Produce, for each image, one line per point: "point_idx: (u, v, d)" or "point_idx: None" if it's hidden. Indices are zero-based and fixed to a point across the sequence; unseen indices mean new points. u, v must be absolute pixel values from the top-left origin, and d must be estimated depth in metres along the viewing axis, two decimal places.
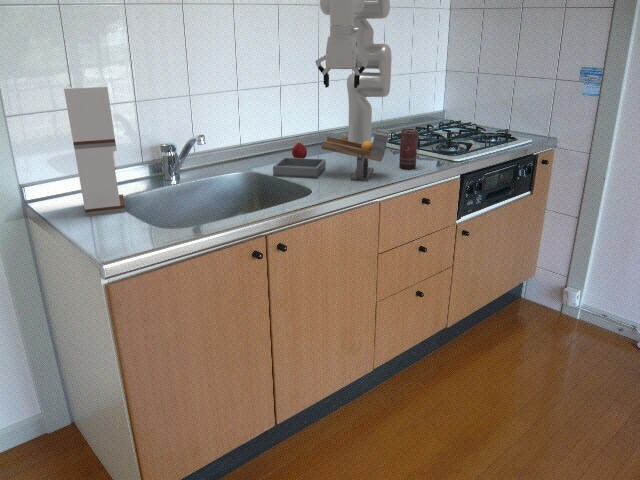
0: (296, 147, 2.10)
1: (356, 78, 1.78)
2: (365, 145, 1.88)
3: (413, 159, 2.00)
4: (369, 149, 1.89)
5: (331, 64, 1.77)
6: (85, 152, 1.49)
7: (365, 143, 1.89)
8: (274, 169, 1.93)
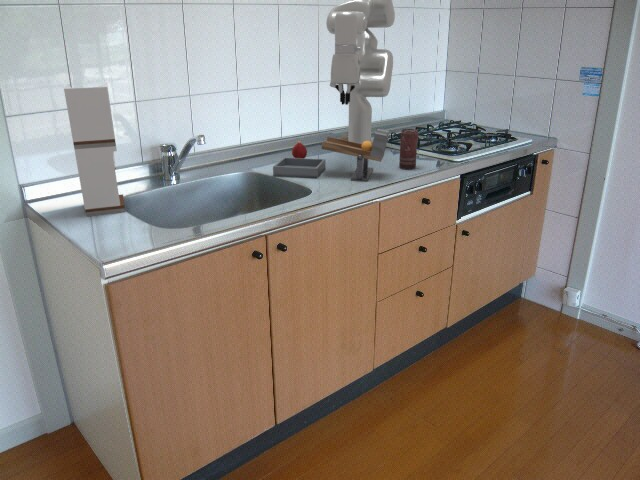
0: (296, 147, 2.10)
1: (347, 96, 1.95)
2: (365, 145, 1.88)
3: (413, 159, 2.00)
4: (369, 149, 1.89)
5: (336, 79, 1.93)
6: (85, 152, 1.49)
7: (365, 143, 1.89)
8: (274, 169, 1.93)
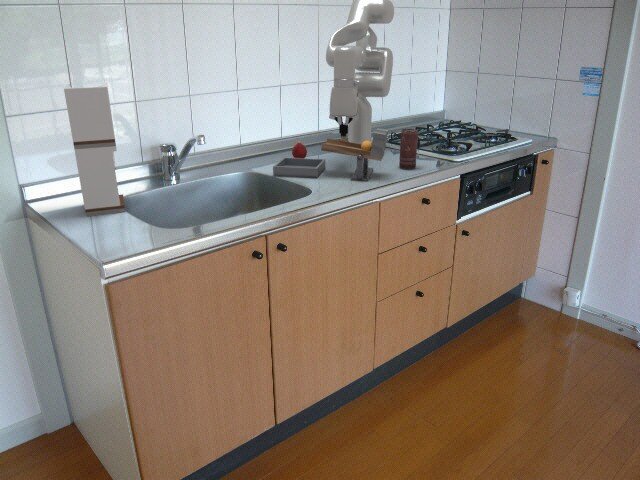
0: (296, 147, 2.10)
1: (345, 127, 1.99)
2: (365, 145, 1.88)
3: (413, 159, 2.00)
4: (369, 149, 1.89)
5: (334, 112, 1.97)
6: (85, 152, 1.49)
7: (365, 143, 1.89)
8: (274, 169, 1.93)
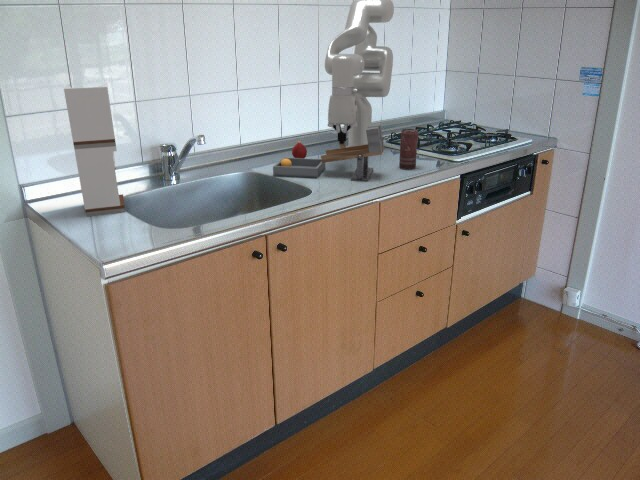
0: (296, 147, 2.10)
1: (343, 135, 2.00)
2: None
3: (413, 159, 2.00)
4: (283, 162, 1.97)
5: (333, 120, 1.98)
6: (85, 152, 1.49)
7: None
8: (274, 169, 1.93)
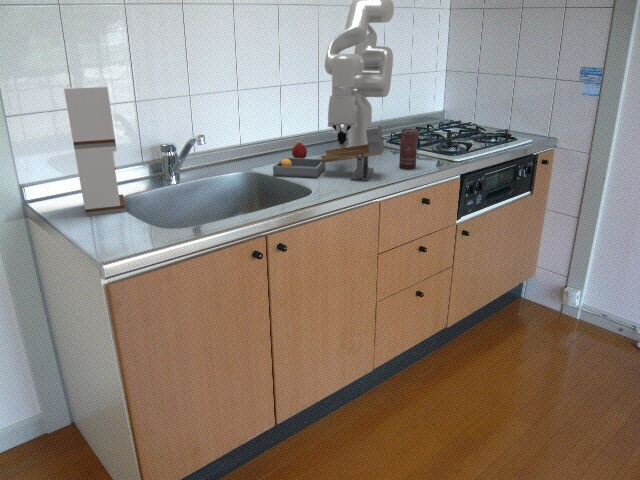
0: (296, 147, 2.10)
1: (343, 135, 2.00)
2: None
3: (413, 159, 2.00)
4: (283, 162, 1.97)
5: (333, 120, 1.98)
6: (85, 152, 1.49)
7: None
8: (274, 169, 1.93)
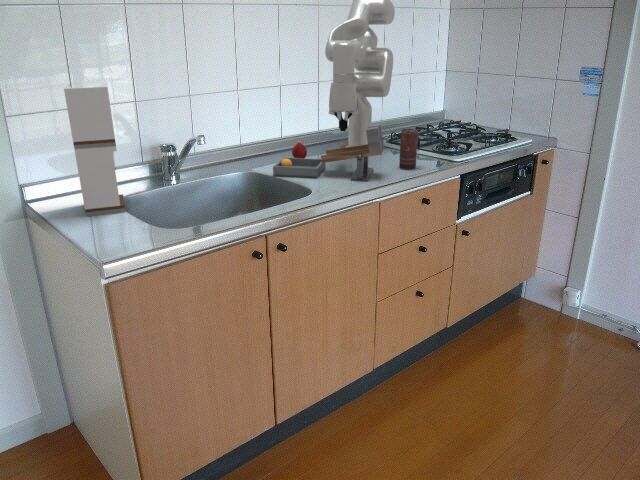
0: (296, 147, 2.10)
1: (344, 123, 1.99)
2: None
3: (413, 159, 2.00)
4: (283, 162, 1.97)
5: (334, 107, 1.97)
6: (85, 152, 1.49)
7: None
8: (274, 169, 1.93)
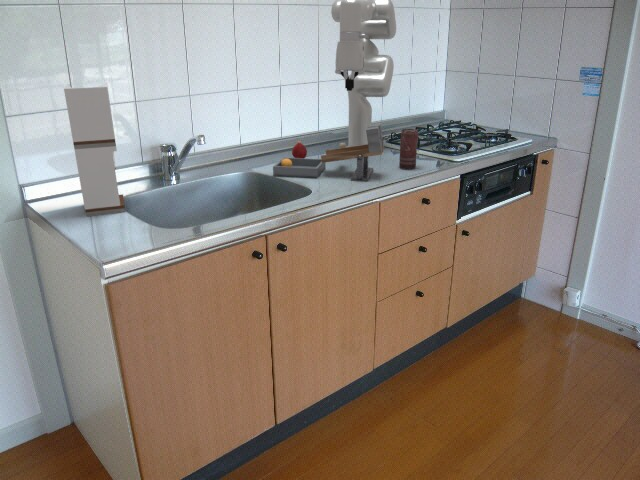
0: (296, 147, 2.10)
1: (351, 82, 2.00)
2: None
3: (413, 159, 2.00)
4: (284, 162, 1.97)
5: (340, 66, 1.98)
6: (85, 152, 1.49)
7: None
8: (274, 169, 1.93)
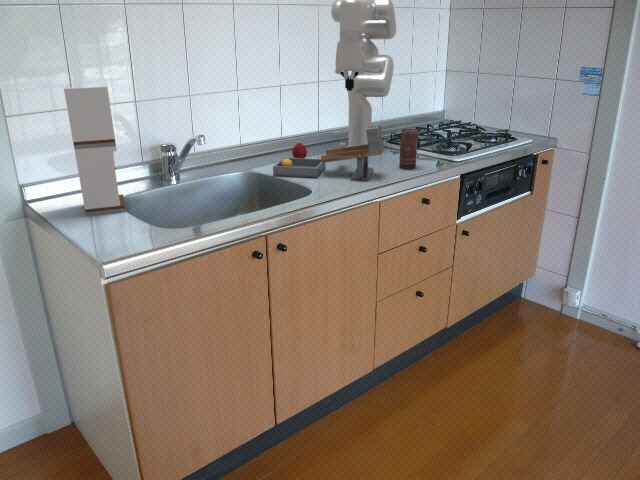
0: (296, 147, 2.10)
1: (351, 82, 2.00)
2: None
3: (413, 159, 2.00)
4: (284, 162, 1.97)
5: (340, 66, 1.98)
6: (85, 152, 1.49)
7: None
8: (274, 169, 1.93)
